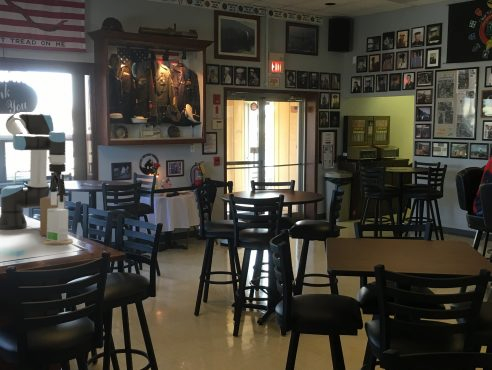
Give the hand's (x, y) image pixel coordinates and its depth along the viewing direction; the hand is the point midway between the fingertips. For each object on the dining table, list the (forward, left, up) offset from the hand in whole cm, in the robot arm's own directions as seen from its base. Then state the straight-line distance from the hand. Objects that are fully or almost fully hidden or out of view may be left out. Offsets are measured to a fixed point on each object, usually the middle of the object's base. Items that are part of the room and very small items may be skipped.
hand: (57, 206), depth 273 cm
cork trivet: (0, 0, -18) cm, 18 cm away
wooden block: (-21, +3, -18) cm, 28 cm away
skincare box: (0, 0, -17) cm, 17 cm away
